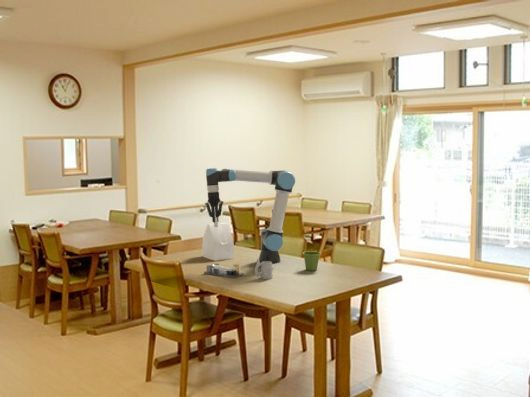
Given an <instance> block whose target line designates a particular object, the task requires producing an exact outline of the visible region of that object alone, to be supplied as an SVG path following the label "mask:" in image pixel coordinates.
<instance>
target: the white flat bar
mask: <svg viewBox="0 0 530 397" xmlns="http://www.w3.org/2000/svg"><path fill="white" fill-rule="evenodd" d="M216 264H217V263H216ZM216 264H215V263H213V264H211V265H210V266H212V269H219V270H224V271H234V270H235V267H234V266H233V267H231V266H226V265H221V264H219V265H216Z"/></svg>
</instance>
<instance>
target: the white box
mask: <svg viewBox="0 0 530 397" xmlns="http://www.w3.org/2000/svg"><path fill="white" fill-rule="evenodd" d="M229 225H230V224H229V222H227V221H226V222H218V227H214V222H212V223H207V224H206V228H205V230H204V235H203V237H202V239H201V240H202V241H201V245H202V246H201V247H202V248H201V249H202V250H201V255H202V257H203V258H206V259H209V260H212V261H215V262H216V261H224V260H231V259H232V260H233V259H235V248H234V247H235V246H234V245H235V242H234V239H233V236H232V233H231V229H230V226H229Z"/></svg>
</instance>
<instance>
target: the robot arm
mask: <svg viewBox="0 0 530 397" xmlns="http://www.w3.org/2000/svg"><path fill="white" fill-rule="evenodd" d="M205 177H206V178H205V179H206V189H207V202H205V203H204V205H205V206H206V209H207V212H208V216H209V217H210V218H212V219H211V220H212V223H214V227H217V228H218V226H219V217H221V216H222V209H223V204H224V201H223V200H221V198H220V191H219V190H220V188H219V186H220V185H219V183H226V182H236V181H237V182H247V183H261V184H262V183H263V184H264V183H265V184H269V185H272V186H274V190H275V195H274V196H275V198H274V203H273V208H272V212H271V216H270V222H269V227H267V228H262V229H261V232H260V234H261V235H260V236H261V237H260V238H261V239H260V240H261V241H260V244H261V245H260V253H259V256H258V260H259V262H260V263H262V262H263V261H270V262H272V264H277V263H280V262H281V256H280V253H279V250H280V249H281V248H282V247H283V244H284V239H283V237H284V230H283V225H284V220H285V215H286V211H287V207H288V206H287V205H288V201H289V195H291V194H292V192H293V188H294V186H295V183H296V178H295V176H294V174H293V173H292V172H291V171H288V170H270V171H259V170H243V169H229V168H228V169H227V168H222V169H221V170H218V168H217V167H214V168H213V167H212V168H207V169H206V170H205Z"/></svg>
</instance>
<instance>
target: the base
mask: <svg viewBox="0 0 530 397" xmlns="http://www.w3.org/2000/svg"><path fill="white" fill-rule="evenodd" d="M214 264H216V265H220V263H214ZM233 268H235V270H234V271H226V270H220V269H214V268H212V266H210V265H209V264H208V265H206V271H203V273H204V274H206V275H213V276H219V277H226V278H232V279H237V278H239V277H242V276H243V277H244V275H245V274H244V273H243V272H240V264H238V263H234V264H233Z"/></svg>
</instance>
